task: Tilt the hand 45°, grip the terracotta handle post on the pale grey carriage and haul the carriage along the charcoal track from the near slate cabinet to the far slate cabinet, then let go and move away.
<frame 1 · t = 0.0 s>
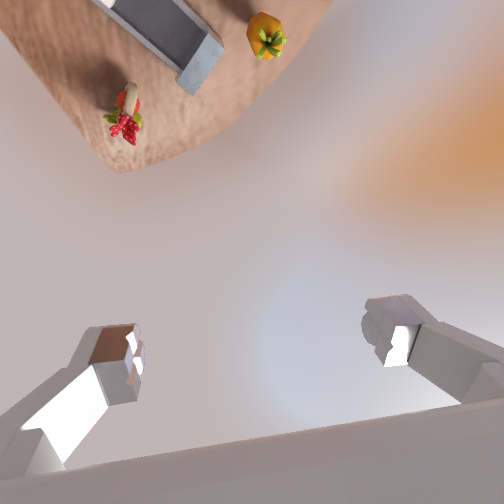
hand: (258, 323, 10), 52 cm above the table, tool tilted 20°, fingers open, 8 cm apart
decorative toy figure: (127, 101, 52), on the table
carrot: (255, 23, 46), on the table
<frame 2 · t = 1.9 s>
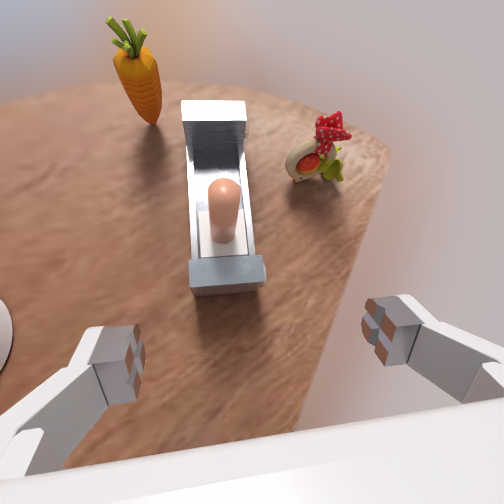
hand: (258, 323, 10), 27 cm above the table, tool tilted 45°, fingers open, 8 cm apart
carriage: (223, 220, 32), point 8 cm above the table, slide at 0.0 cm
decorative toy figure: (309, 175, 45), on the table
carrot: (153, 124, 44), on the table
rail track: (219, 210, 41), on the table
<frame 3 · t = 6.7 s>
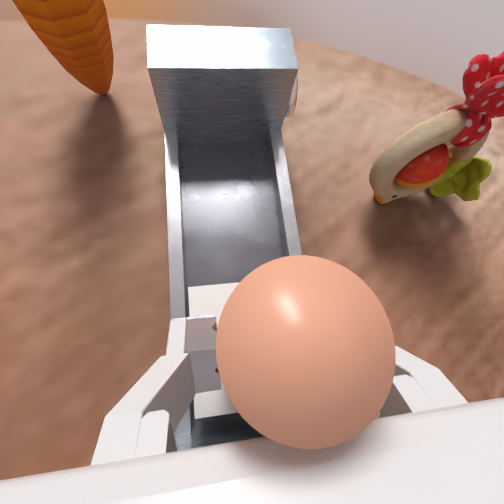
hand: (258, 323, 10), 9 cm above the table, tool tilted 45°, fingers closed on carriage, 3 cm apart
carriage: (258, 342, 11), point 8 cm above the table, slide at 0.0 cm, touching gripper
decorative toy figure: (401, 190, 24), on the table
carrot: (104, 95, 23), on the table
rail track: (234, 266, 20), on the table
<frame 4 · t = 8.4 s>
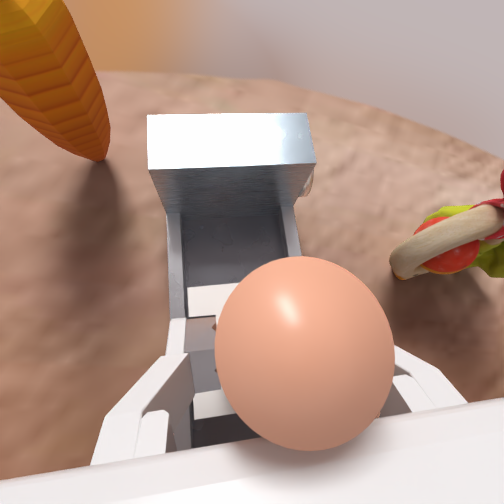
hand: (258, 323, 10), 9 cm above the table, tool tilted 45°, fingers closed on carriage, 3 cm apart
carriage: (257, 342, 11), point 8 cm above the table, slide at 6.0 cm, touching gripper
decorative toy figure: (421, 260, 22), on the table
carrot: (101, 160, 22), on the table
rail track: (243, 358, 18), on the table
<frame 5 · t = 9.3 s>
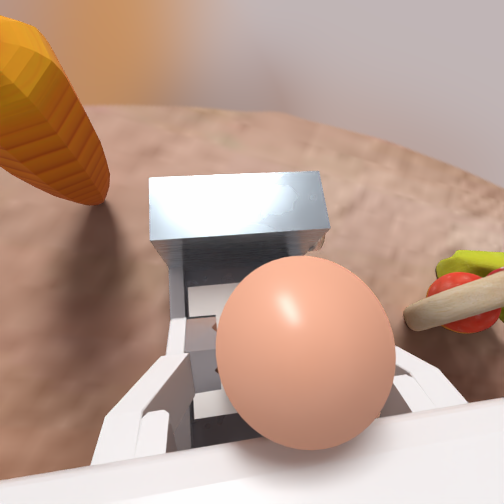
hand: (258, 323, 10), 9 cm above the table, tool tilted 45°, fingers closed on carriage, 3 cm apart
carriage: (258, 342, 11), point 8 cm above the table, slide at 9.4 cm, touching gripper
decorative toy figure: (434, 306, 21), on the table
carrot: (100, 201, 21), on the table
rail track: (249, 418, 17), on the table
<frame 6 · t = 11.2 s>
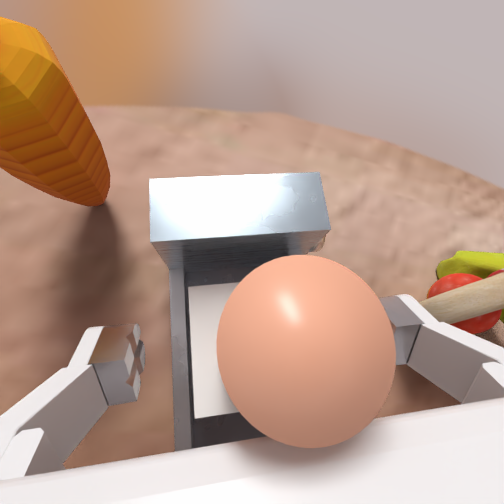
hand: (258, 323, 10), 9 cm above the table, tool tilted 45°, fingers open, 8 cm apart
carriage: (258, 341, 11), point 8 cm above the table, slide at 9.5 cm
decorative toy figure: (435, 307, 21), on the table
carrot: (100, 202, 21), on the table
rail track: (249, 419, 17), on the table
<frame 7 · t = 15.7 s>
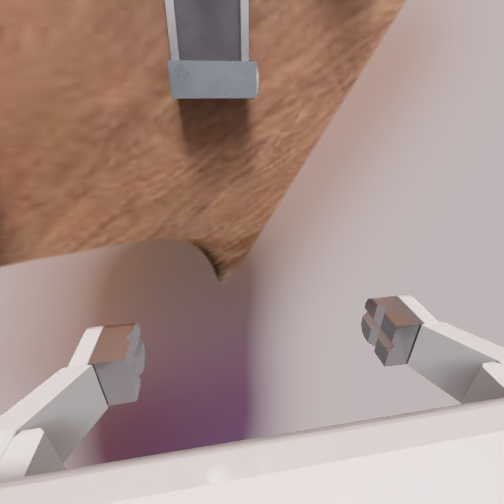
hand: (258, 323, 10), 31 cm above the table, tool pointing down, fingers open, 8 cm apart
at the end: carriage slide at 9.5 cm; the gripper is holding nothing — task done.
